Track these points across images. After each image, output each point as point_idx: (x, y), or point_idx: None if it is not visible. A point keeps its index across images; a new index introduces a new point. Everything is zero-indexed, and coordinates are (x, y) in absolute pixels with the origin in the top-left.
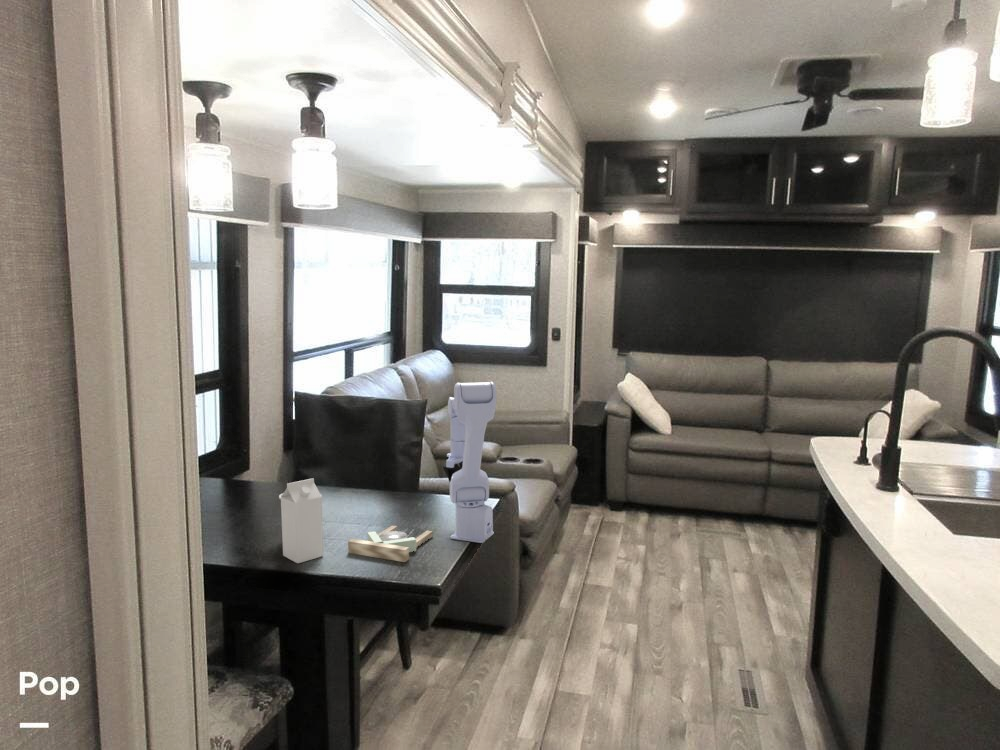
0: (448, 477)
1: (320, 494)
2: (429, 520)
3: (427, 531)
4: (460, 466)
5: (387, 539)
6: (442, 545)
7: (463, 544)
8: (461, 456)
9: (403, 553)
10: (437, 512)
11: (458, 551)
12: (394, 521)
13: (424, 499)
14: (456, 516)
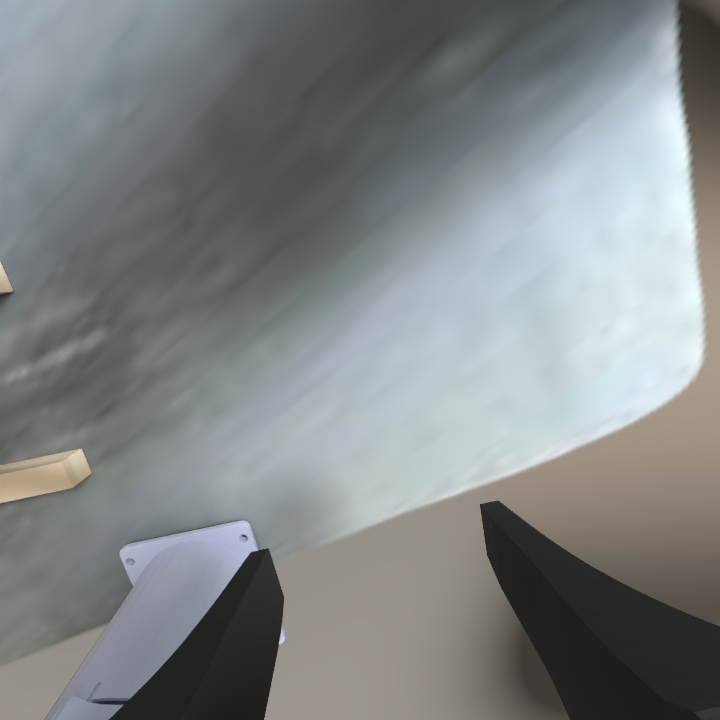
0: (161, 674)
1: None
2: (252, 316)
3: (52, 472)
4: (578, 623)
5: None
6: (51, 562)
7: None
8: None
9: None
10: (380, 267)
11: (52, 637)
12: (112, 156)
13: (551, 15)
14: (89, 653)
